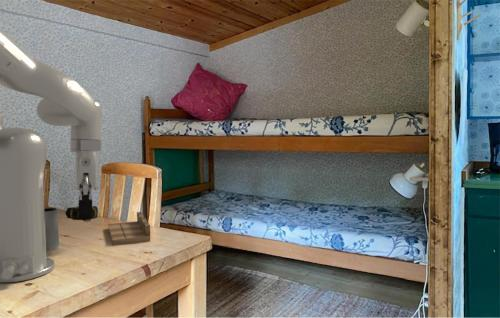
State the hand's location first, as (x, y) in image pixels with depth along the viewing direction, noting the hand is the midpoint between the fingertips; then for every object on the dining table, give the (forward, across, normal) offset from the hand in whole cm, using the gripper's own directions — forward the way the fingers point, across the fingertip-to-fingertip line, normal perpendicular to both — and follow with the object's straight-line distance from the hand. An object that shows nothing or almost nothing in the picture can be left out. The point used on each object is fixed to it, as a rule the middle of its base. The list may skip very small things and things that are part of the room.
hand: (85, 212), depth 99 cm
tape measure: (+2, 0, +1) cm, 2 cm away
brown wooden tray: (+8, +8, -12) cm, 17 cm away
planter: (+10, +4, +9) cm, 13 cm away
